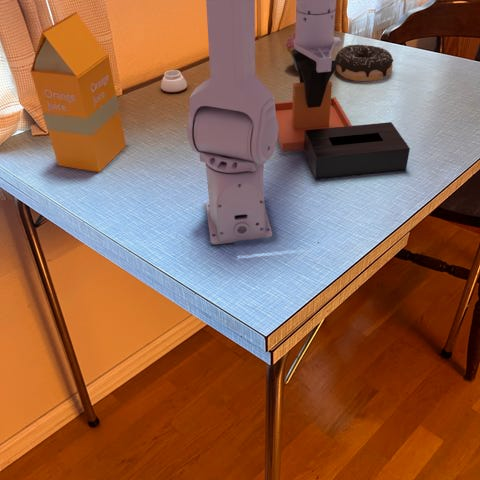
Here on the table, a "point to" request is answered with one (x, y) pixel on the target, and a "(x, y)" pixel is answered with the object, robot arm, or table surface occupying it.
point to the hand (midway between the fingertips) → (311, 101)
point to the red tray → (295, 137)
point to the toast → (310, 116)
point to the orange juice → (77, 96)
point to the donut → (363, 62)
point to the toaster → (355, 150)
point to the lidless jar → (173, 81)
